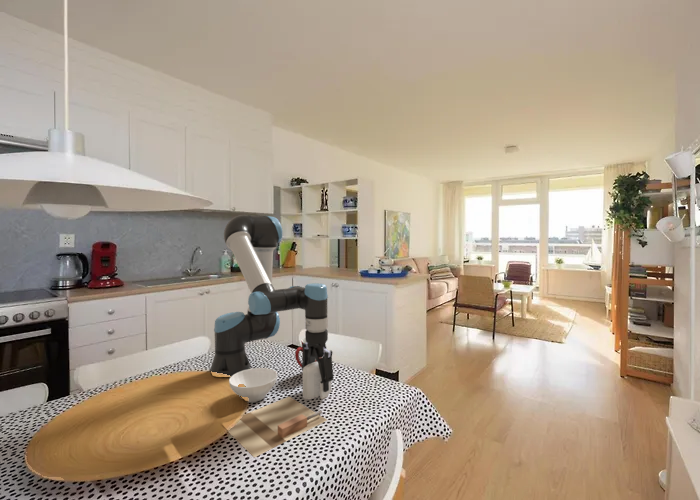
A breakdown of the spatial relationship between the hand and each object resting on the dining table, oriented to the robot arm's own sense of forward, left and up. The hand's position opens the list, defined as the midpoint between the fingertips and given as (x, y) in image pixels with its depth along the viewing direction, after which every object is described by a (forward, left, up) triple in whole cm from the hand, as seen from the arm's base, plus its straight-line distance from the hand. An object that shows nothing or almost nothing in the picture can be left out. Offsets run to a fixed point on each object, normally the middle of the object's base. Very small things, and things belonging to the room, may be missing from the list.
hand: (317, 396), depth 110 cm
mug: (-18, +10, -1) cm, 21 cm away
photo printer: (0, 0, -1) cm, 1 cm away
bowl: (-16, -15, -1) cm, 22 cm away
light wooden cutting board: (+5, -20, -1) cm, 20 cm away
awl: (+12, -15, +1) cm, 19 cm away
